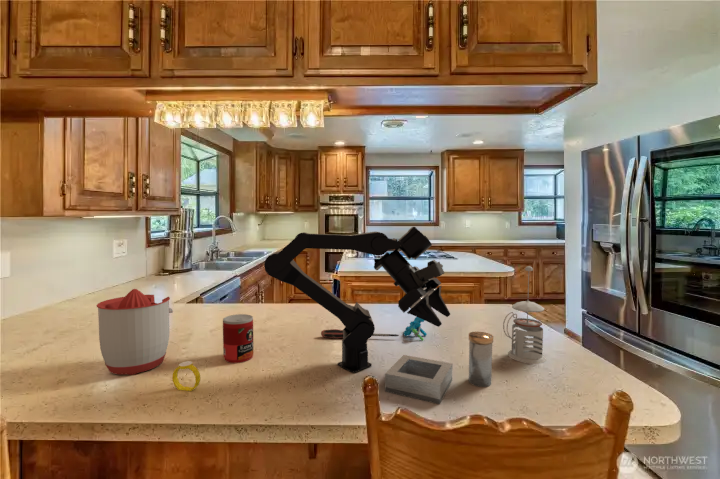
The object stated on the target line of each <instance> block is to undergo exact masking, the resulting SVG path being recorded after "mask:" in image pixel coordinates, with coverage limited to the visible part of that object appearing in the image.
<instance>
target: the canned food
mask: <svg viewBox="0 0 720 479" xmlns="http://www.w3.org/2000/svg"><path fill="white" fill-rule="evenodd" d="M222 345H223V346H222V349H223V359H224V361H225V362H227V363H230V364H240V363H245V362H248V361H250V360H251V359H252V358H253V357H254V316H252V315H250V314H246V313H245V314H243V313H237V314H232V315H230V314H229V315H227V316H225V317H223V318H222Z"/></svg>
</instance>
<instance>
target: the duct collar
mask: <svg viewBox="0 0 720 479" xmlns="http://www.w3.org/2000/svg"><path fill="white" fill-rule="evenodd" d="M384 376H385V378H384V385H385V386H384V389H385V390H384V392H385V393H386V392H387V393H391V394H395V395H399V396H404V397H407V398H411V399H416V400H421V401H425V402H428V403H429V402H430V403H434V404H437V405H440V404H441V402H442V401H443V399H444V397H445V395H446V393H447V391H448V390H449V387H450V385H451V383H452V381H453V362H452V363H451V362H446V361H440V360H434V359H429V358H425V357H418V356H417V357H416V356H413V355H412V356H411V355H408V354H402V356H401V357H400V358H399V359H398V360H397V361H396V362H395V363H394V364H393V365H392V366H391V367H390V368H389V369H388V370H387V371H386V372H385V373H384Z"/></svg>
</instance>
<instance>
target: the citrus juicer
mask: <svg viewBox="0 0 720 479" xmlns="http://www.w3.org/2000/svg"><path fill="white" fill-rule="evenodd" d="M170 298H171V297H170V296H167V297H164V298H163V299H162V300H161V302H158V303H157V302H155V294H144V293H143V292H141V291H140V290H139V289H137V288H132V289H131V290H130V291H129V292H127V293H126V295H125V296H122V297H115V298H114V297H113V298H110V299H107V300H103V301H100V302H98V303H97V304H96V308H97V310H98V311H97V312H98V317H97V318H98V336H99V337H98V338H99V339H98V340H99V347H100V351H101V352H100V353H101V356H102V359H103V362H104V365H105V367H106V368H107V370H108V371H109V373H111V374H113V375H121V376H122V375H128V376H133V375H136V374H138V373H143V372H146V371H149V370H152V369H155V368H156V367H158V366H161V364H162V363H163V362H164V359H165V357H166V354H167V349H168V345H169V340H170V314H171V313H173V312H174V310H173V308H171V307H170Z"/></svg>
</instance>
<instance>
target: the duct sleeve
mask: <svg viewBox="0 0 720 479" xmlns="http://www.w3.org/2000/svg"><path fill="white" fill-rule="evenodd" d="M468 341H469V343H468V344H469V346H468V347H469V348H468V350H469V351H468V353H469V354H468V383H469V384H471V385H472V386H475V387H479V388H480V387H481V388H487V387H490V386H492V376H493V375H492V373H493V372H492V371H493V369H492V368H493V367H492V366H493V362H492V361H493V343H494V335H493V334H491V333H489V332H484V331H470V332H469V333H468Z"/></svg>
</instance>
